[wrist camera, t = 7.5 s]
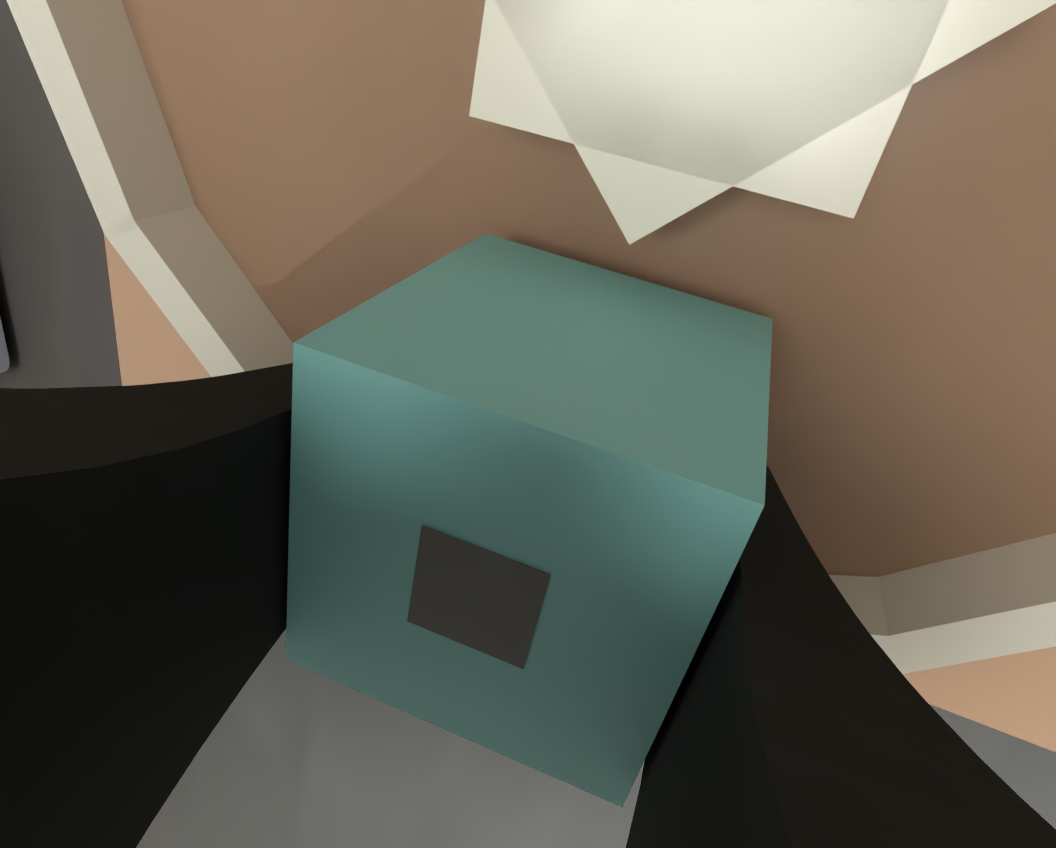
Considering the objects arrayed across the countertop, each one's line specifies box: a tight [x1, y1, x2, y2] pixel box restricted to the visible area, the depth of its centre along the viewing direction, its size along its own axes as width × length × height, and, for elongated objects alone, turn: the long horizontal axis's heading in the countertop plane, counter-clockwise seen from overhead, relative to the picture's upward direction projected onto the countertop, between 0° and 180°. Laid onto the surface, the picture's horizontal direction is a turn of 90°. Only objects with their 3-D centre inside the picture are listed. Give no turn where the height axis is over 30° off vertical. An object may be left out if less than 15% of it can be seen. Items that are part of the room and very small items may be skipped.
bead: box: [286, 233, 772, 807], centre depth 9 cm, size 4×4×5 cm
